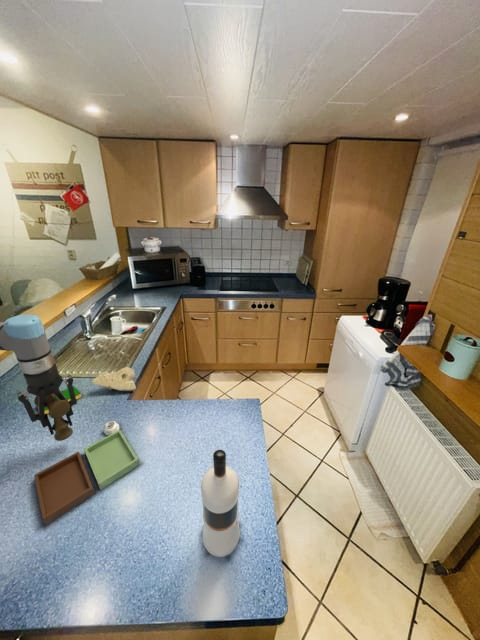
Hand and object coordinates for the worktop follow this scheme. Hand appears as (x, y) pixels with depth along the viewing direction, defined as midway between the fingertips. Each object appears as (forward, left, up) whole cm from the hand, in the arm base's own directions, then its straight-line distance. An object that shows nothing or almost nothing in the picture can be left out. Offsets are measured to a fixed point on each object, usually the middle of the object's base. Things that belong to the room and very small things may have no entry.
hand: (61, 427), depth 81 cm
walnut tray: (+14, -4, -9) cm, 18 cm away
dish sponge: (-27, +2, -10) cm, 28 cm away
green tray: (+14, +9, -9) cm, 19 cm away
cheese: (-19, +22, -10) cm, 31 cm away
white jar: (+2, +13, -10) cm, 16 cm away
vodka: (+54, +22, -10) cm, 59 cm away
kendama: (0, 0, -4) cm, 4 cm away
